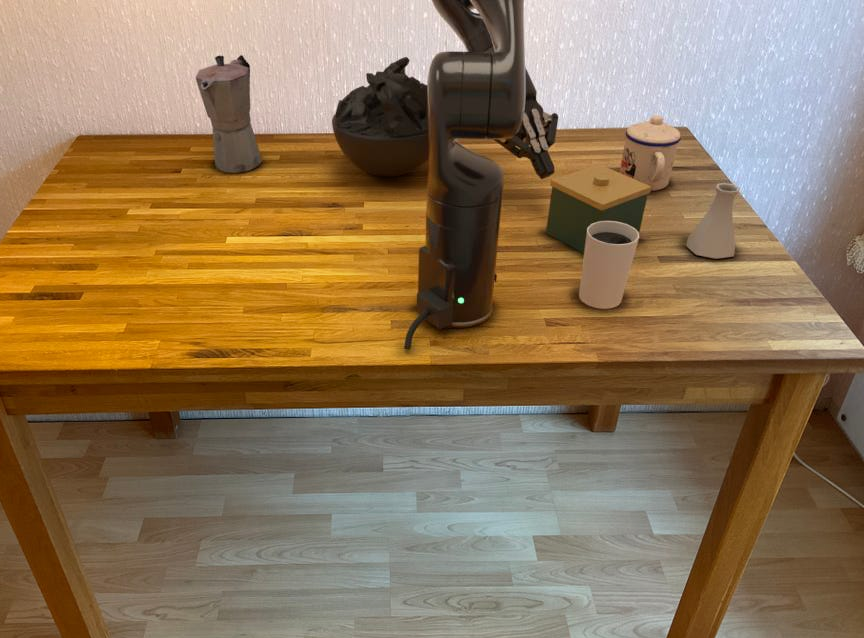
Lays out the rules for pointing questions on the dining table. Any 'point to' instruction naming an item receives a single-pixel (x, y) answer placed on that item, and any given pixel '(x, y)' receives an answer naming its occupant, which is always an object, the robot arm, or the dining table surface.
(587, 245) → the white tumbler cup
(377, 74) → the bowl of black rocks
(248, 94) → the moka pot
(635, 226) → the tea tin
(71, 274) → the dining table surface
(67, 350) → the dining table surface
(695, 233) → the flask
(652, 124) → the teacup with lid
